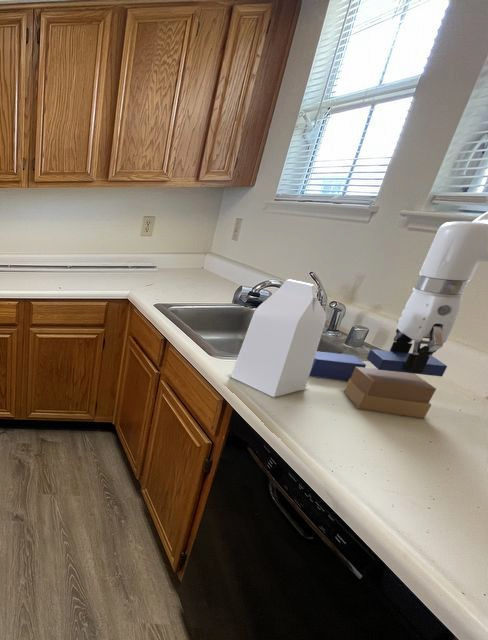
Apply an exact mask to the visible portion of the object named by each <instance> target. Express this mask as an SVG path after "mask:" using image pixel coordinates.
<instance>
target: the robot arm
mask: <svg viewBox="0 0 488 640" xmlns="http://www.w3.org/2000/svg"><path fill="white" fill-rule="evenodd" d="M481 262H488V211H485V213H483V214H482V215H480V216H478V217H477V218H476V219H474V220H473V221H461V220H460V221H457V220H455V221H449V222H448V221H447V222H445V223H443V224H442V225H440V226H439V228H438V229H437V231H436V234H435V236H434V238H433V241H432V243H431V245H430V247H429V250H428V252H427V255H426V256H425V259H424V261H423V263H422V266H421V268H420V271H419V273H418V275H417V277H416V280H415V282H414V284H413V286H412V289H411V291H412V293H411V295H410V296H409V298H408V300H407V302H406V304H405V306H404V308H403V309H402V312H401V314H400V316H399V319H398V320H397V322H396V330H395V333H396V334H395V336H394V337H393V342H392V345H391V347H390V348H389V349H390V350H389V351H395V352H405V353H410V354H409V356H408V358H407V360H406V362H405V365H404V367H403V370H404V371H406V372H416V373H422V372H423V370H424V368H425V366H426V363H427V361H428V359H429V357H431V356H433V354H435V353H436V352H437V351H438V350H440V349H441V348H442V347H443V346H444V344H445V343H447V341H448V340H449V337H450V334H451V332H452V331H453V328H454V325H455V322H456V321H457V318H458V315H459V312H460V310H461V304H462V299H463V296H464V294H465V293H466V290H467V288H468V286H469V285H470V282H471V280H472V278H473V276H474V274H475V272H476V270H477V268H478V266H479V264H480V263H481ZM423 339H428V340H423ZM412 341H414V343H412ZM422 345H424V346H422ZM412 346H413V348H412ZM421 346H422V347H421ZM411 348H412V352H410V350H411ZM412 353H413V354H412Z"/></svg>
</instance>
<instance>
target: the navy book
mask: <svg viewBox="0 0 488 640" xmlns="http://www.w3.org/2000/svg"><path fill="white" fill-rule="evenodd" d="M410 353H412V354H413V352H409V353H405V352H395V351H390V350H384V349H374V348H371V349H370V350H369V352H368V354H367V357H366V360H367V361H368V362H370V364H372V365H373V366H374V367H375V369H378V370H386V371H395V372H404V373H414V374H416V375H423V376H432V377H440V378H441V377H443V376H444V374H445V371H446V370H447V368H448V365H446V364H445V363H443V361H441V360H439V359H437V358H436V357H434V356H433V355H432V356H431V357H429V359H428V361H427V363H426V366H425V368H424V370H423V372H422V373H416V372H406V371H404V370H403V367H404V365H405V362H406V360H407V358H408V356H409V354H410Z"/></svg>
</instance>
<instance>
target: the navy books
mask: <svg viewBox="0 0 488 640" xmlns="http://www.w3.org/2000/svg"><path fill="white" fill-rule="evenodd" d="M366 366H367V363H365V362H364V361H363V360H362V359H360V358H359V357H358V356H356V355H355V354H345V353H337V352H328V351H318V350H317V351H316V355H315V358H314V361H313V364H312V368H311V371H310V374H309V377H316V378H324V379H329V380H336V381H337V380H338V381H343V382H345V381H346V382H348V381H349V379H350V378H351V376H352V374H353V372H354V369H355V367H364V368H367V367H366Z"/></svg>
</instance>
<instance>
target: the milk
mask: <svg viewBox="0 0 488 640" xmlns="http://www.w3.org/2000/svg"><path fill="white" fill-rule="evenodd" d="M317 295H318V294H317V285H316V284H313V283H309V282H304V281H299V280H295V279H285V281H284V282H283V283H282V284H281V286H280V287H279V288H278V289H277V290H276V291H275V292H273V294H271V295H270V296H269V297H268V298H266V299H265V300H264V301H263V302H262V303H260V304H259V305H258V306H257V308H256V309H255V310H254V312H253V315H252V317H251V319H250V322H249V324H248V325H249V326H248V328H247V331H246V333H245V337H244V339H243V342H242V344H241V347H240V350H239V352H238V355H237V357H236V360H235V363H234V366H233V369H232V371H231V374H230V378H233V379H234V380H237V381H239V382H241V383H243V384H245V385H247V386H249V387H251V388H253V389H256V390H258V391H259V392H262V393H264V394H266V395H269V396H271V397H273V398H276V397H279V396H283V395H284V396H285V395H287V394H290V393H291V394H292V393H294V392H295V393H296V392H299V391H302V390H305V389H306V387H307V384H308V382H309V377H310V376H309V374H310V371H311V368H312V364H313V361H314V358H315V355H316V351H318V349H319V345H320V342H321V338H322V334H323V331H324V328H325V325H326V322H327V314H326V311H325V309H324V307H323V306H322V304H321V302H320V301H319V300H318V296H317Z"/></svg>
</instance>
